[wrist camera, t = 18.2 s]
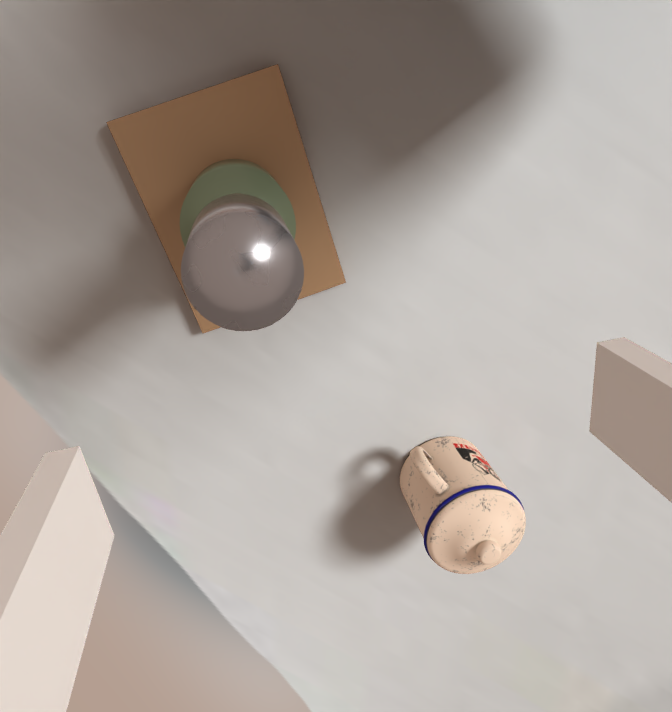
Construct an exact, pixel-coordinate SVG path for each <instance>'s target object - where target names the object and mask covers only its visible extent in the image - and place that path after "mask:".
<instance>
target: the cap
mask: <svg viewBox="0 0 672 712" xmlns="http://www.w3.org/2000/svg"><path fill="white" fill-rule="evenodd" d="M181 279H182V284H183V288H184V291H185V293H186V296H187V297H188V299H189V301H190V303H191V304H192V305H193V307H194V308H195V309H196V310H197V311H198V312H199V313H200V314H201V315H202V316H203V317H204V318H206V319H207V320H209V321H210V322H212V323H213V324H216V325H218V326H220V327H223V328H226V329H230V330H235V331H252V330H258V329H261V328H264V327H267V326H269V325H272V324H274V323H275V322H277V321H278V320H280V319H281V318H282V317H284V316H285V315H286V314H287V313H288V312H289V311H290V310H291V308H292V307H293V306H294V304H295V303H296V301H297V299H298V297H299V295H300V292H301V290H302V286H303V280H304V266H303V260H302V256H301V253H300V251H299V248H298V246H297V244H296V242H295V240H294V239H293V237H292V235H291V233H290V231H289V229H288V227H287V226H286V224H285V222H284V220H283V219H282V217H281V215H280V214H279V213H278V212H277V211H276V210H275V209H274V208H273V207H272V206H271V205H270V204H268V203H267V202H265V201H264V200H262V199H260V198H257V197H255V196H251V195H246V194H231V195H226V196H222V197H220V198H217V199H215V200H214V201H212V202H210V203H209V204H208V205H207V206H205V207H204V208H203V209H202V211H201V212H200V213H199V214H198V216H197V217H196V219H195V221H194V224H193V226H192V229H191V232H190V235H189V238H188V241H187V244H186V247H185V250H184V253H183V256H182V262H181Z"/></svg>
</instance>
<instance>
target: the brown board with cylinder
mask: <svg viewBox="0 0 672 712" xmlns="http://www.w3.org/2000/svg"><path fill="white" fill-rule="evenodd" d="M106 123H107V125H108V127H109V129H110V131H111V134H112V136H113V138H114V140H115V142H116V145H117V147H118V149H119V151H120V153H121V155H122V158H123V160H124V162H125V164H126V166H127V169H128V171H129V173H130V175H131V177H132V180H133V182H134V184H135V186H136V188H137V190H138V193H139V195H140V197H141V199H142V201H143V204H144V206H145V208H146V210H147V212H148V215H149V217H150V219H151V221H152V223H153V225H154V228H155V230H156V232H157V234H158V236H159V239H160V241H161V243H162V245H163V247H164V250H165V252H166V254H167V256H168V258H169V260H170V263H171V265H172V267H173V269H174V271H175V274H176V276H177V278H178V280H179V282H180V284H181V287H182V289H183V291H184V288H183V284H182V279H181V262H182V256H183V253H184V250H185V247H186V244H187V241H188V238H189V235H190V232H191V229H192V226H193V224H194V221H195V219H196V217H197V216H198V214H199V213H200V212H201V211H202V209H203V208H204V207H205V206H207V205H208V204H209V203H210V202H212V201H214V200H215V199H217V198H220V197H222V196H226V195H231V194H246V195H251V196H255V197H257V198H260V199H262V200H264V201H265V202H267V203H268V204H270V205H271V206H272V207H273V208H274V209H275V210H276V211H277V212H278V213H279V214H280V215H281V217H282V219H283V220H284V222H285V224H286V226H287V227H288V229H289V231H290V233H291V235H292V237H293V239H294V240H295V242H296V244H297V246H298V248H299V251H300V253H301V256H302V260H303V266H304V280H303V286H302V290H301V292H300V295H299V297H298V299H301V298H304V297H307V296H309V295H312V294H315V293H318V292H321V291H323V290H326V289H329V288H332V287H335V286H337V285H340V284H343V283H346V281H345V278H344V275H343V271H342V268H341V265H340V262H339V259H338V255H337V252H336V249H335V246H334V242H333V239H332V236H331V233H330V230H329V226H328V223H327V220H326V217H325V214H324V210H323V207H322V204H321V201H320V198H319V194H318V191H317V188H316V185H315V181H314V178H313V175H312V172H311V169H310V165H309V162H308V159H307V156H306V153H305V149H304V146H303V143H302V140H301V137H300V133H299V130H298V127H297V124H296V120H295V117H294V114H293V111H292V108H291V104H290V101H289V98H288V95H287V92H286V88H285V85H284V82H283V79H282V75H281V72H280V69H279V66H278V64H277V65H274V66H271V67H268V68H265V69H262V70H259V71H256V72H253V73H250V74H247V75H244V76H241V77H238V78H235V79H232V80H229V81H226V82H224V83H221V84H218V85H215V86H212V87H209V88H206V89H203V90H200V91H197V92H194V93H191V94H188V95H185V96H182V97H179V98H176V99H173V100H170V101H168V102H165V103H162V104H159V105H156V106H153V107H150V108H147V109H144V110H141V111H138V112H135V113H132V114H129V115H126V116H123V117H120V118H117V119H114V120H112V121H109V122H106ZM184 293H185V291H184ZM185 295H186V293H185ZM186 298H187V300H188V302H189V304H190V306H191V309H192V311H193V313H194V315H195V317H196V319H197V322H198V324H199V326H200V328H201V330H202V333H206V332H209V331H211V330H214V329H217V328H220V326H218V325H216V324H213V323H212V322H210V321H209V320H207V319H206V318H204V317H203V316H202V315H201V314H200V313H199V312H198V311H197V310H196V309H195V308H194V307H193V305H192V304H191V303H190V301H189V299H188V297H187V296H186ZM298 299H297V300H298Z"/></svg>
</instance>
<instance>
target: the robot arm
mask: <svg viewBox="0 0 672 712" xmlns="http://www.w3.org/2000/svg"><path fill="white" fill-rule="evenodd" d="M590 432H591V433H592V434H593V435H594V436H595V437H597V438H598V439H599V440H600V441H601V442H602V443H603V444H605V445H606V446H607V447H608V448H609V449H610V450H612V451H613V452H614V453H615V454H616V455H617V456H618V457H620V458H621V459H622V460H623V461H624V462H625V463H627V464H628V465H629V466H630V467H631V468H632V469H633V470H635V471H636V472H637V473H638V474H639V475H640V476H642V477H643V478H644V479H645V480H646V481H647V482H648V483H650V484H651V485H652V486H653V487H654V488H655V489H657V490H658V491H659V492H660V493H661V494H662V495H663V496H665V497H666V498H667V499H668V500H669V501H670V502H672V363H670V362H668V361H666V360H664V359H663V358H661V357H659V356H657V355H655V354H654V353H652V352H650V351H648V350H646V349H645V348H643V347H641V346H639V345H637V344H635V343H634V342H632V341H630V340H628V339H626V338H625V337H622V338H617V339H612V340H607V341H602V342H597V349H596V361H595V372H594V384H593V396H592V407H591V419H590ZM113 538H114V533H113V531H112V528H111V526H110V523H109V521H108V518H107V516H106V513H105V511H104V508H103V505H102V503H101V500H100V498H99V495H98V492H97V490H96V487H95V485H94V482H93V480H92V477H91V474H90V472H89V469H88V467H87V464H86V462H85V459H84V456H83V454H82V451H81V449H80V446H77V447H72V448H67V449H62V450H57V451H51V452H46V453H45V454H44V456H43V458H42V460H41V462H40V464H39V465H38V467H37V469H36V471H35V473H34V475H33V476H32V478H31V480H30V482H29V484H28V485H27V487H26V489H25V491H24V493H23V495H22V496H21V498H20V500H19V502H18V504H17V505H16V507H15V509H14V511H13V513H12V515H11V517H10V518H9V520H8V522H7V524H6V526H5V527H4V529H3V531H2V533H1V535H0V712H66V710H67V706H68V703H69V699H70V695H71V691H72V688H73V684H74V680H75V677H76V673H77V670H78V666H79V662H80V659H81V655H82V651H83V648H84V644H85V640H86V637H87V633H88V630H89V626H90V622H91V618H92V615H93V611H94V608H95V604H96V601H97V597H98V593H99V590H100V586H101V582H102V578H103V575H104V571H105V567H106V564H107V560H108V557H109V553H110V549H111V546H112V542H113Z"/></svg>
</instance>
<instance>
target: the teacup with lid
mask: <svg viewBox="0 0 672 712" xmlns="http://www.w3.org/2000/svg"><path fill="white" fill-rule="evenodd" d="M400 487H401V490H402V493H403V495H404V497H405V499H406V502H407V504H408V506H409V508H410V510H411V512H412V514H413V517H414V519H415V521H416V523H417V525H418V527H419V530H420V532H421V534H422V536H423V538H424V545H425V549H426V551H427V553H428V555H429V556H430V558H431V559H432V560H433V561H434V562H435V563H436V564H437V565H439V566H440V567H442V568H444V569H445V570H448V571H450V572H454V573H460V574H471V573H477V572H481V571H485V570H487V569H490V568H492V567H494V566H496V565H498V564H499V563H501V562H502V561H504V560H505V559H506V558H507V557H508V556H510V555H511V554H512V553H513V551H514V550H515V549H516V548H517V546H518V545H519V543H520V541H521V539H522V537H523V534H524V531H525V524H526V519H525V513H524V508H523V506H522V504H521V502H520V500H519V499H518V498H517V496H516V495H514V494H513V493H512V492H511V491H509V490H508V489H507V488H506V486H505V485H504V484H503V482H502V481H501V480H500V478H499V477H498V476H497V474H496V473H495V472H494V470H493V469H492V468H491V466H490V465H489V464H488V462H487V461H486V460H485V458H484V457H483V456H482V454H481V453H480V452H479V450H478V449H477V448H476V447H475V446H474V445H473V444H472V443H470V442H469V441H467V440H465V439H462V438H458V437H451V436H447V437H439V438H435V439H432V440H430V441H428V442H425V443H424V444H422V445H420V446H417V447H415V448H414V449H412V450H411V451H410V455H409V457H408V458H407V459H406V461H405V463H404V465H403V467H402V470H401V473H400Z"/></svg>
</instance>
